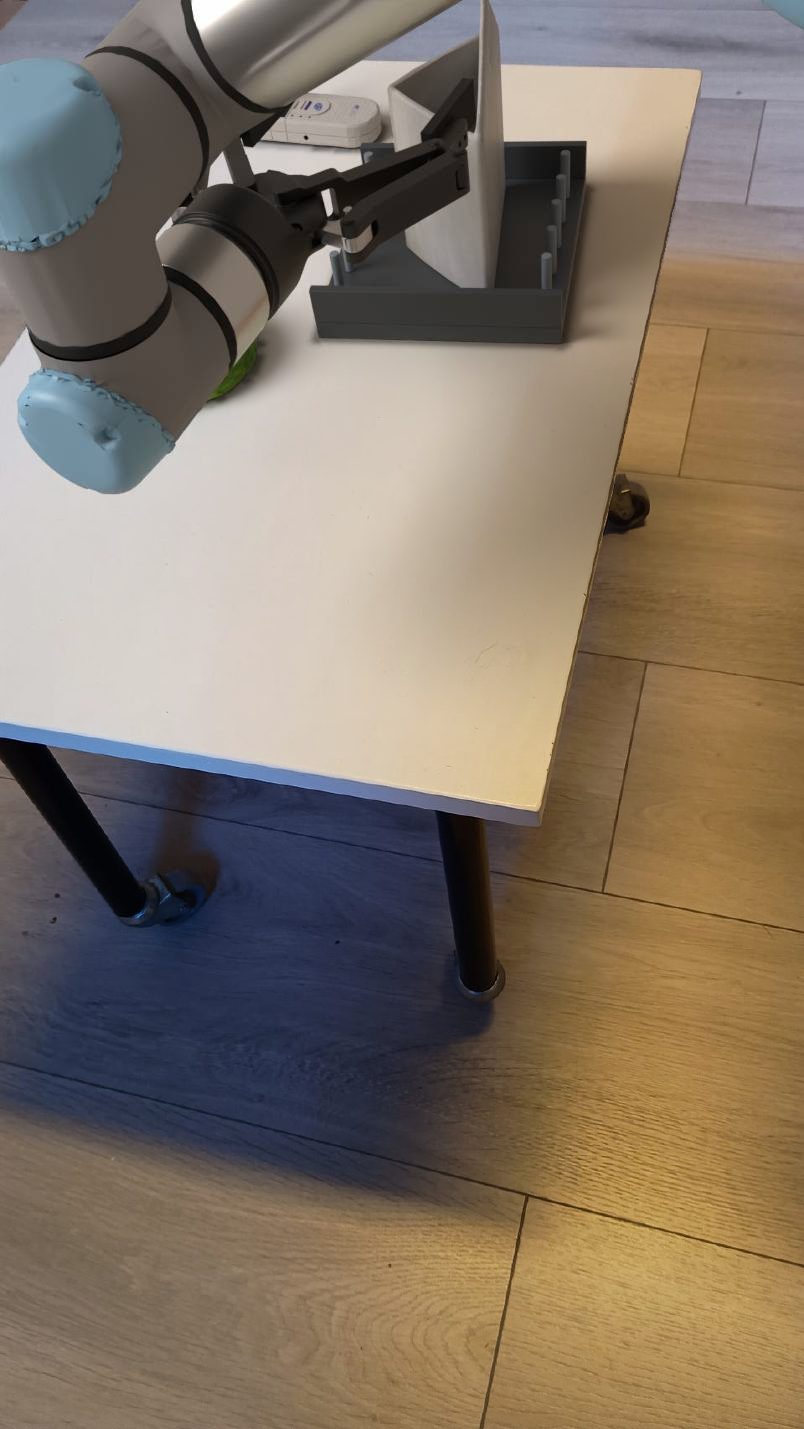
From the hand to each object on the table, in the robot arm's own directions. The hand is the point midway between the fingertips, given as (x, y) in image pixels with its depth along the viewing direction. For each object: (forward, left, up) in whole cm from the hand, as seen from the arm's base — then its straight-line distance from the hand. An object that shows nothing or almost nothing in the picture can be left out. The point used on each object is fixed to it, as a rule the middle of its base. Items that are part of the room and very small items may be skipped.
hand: (377, 87), depth 75 cm
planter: (-2, -9, -18) cm, 21 cm away
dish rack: (-3, -9, -20) cm, 22 cm away
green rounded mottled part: (+17, +5, -20) cm, 27 cm away
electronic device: (+15, -30, -20) cm, 39 cm away
